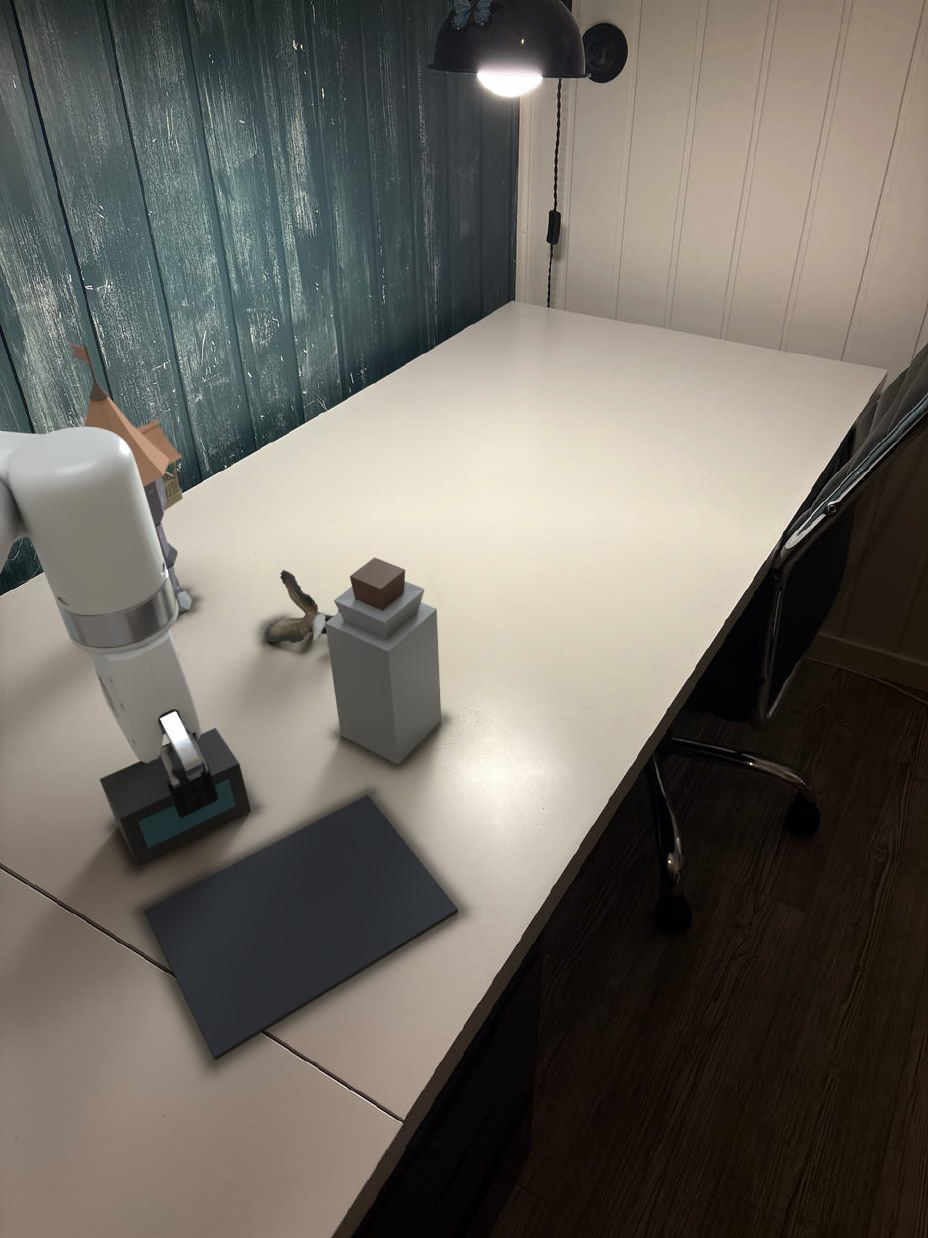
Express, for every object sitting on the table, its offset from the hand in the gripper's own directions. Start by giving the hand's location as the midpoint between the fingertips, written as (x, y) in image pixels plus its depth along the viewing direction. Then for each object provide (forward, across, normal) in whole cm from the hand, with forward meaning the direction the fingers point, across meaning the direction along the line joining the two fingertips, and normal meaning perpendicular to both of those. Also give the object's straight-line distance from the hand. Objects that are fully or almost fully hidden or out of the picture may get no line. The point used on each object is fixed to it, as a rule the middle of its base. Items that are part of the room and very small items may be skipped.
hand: (175, 769), depth 75 cm
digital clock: (+6, 0, 0) cm, 6 cm away
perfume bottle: (+7, +1, +19) cm, 21 cm away
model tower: (+6, -31, +8) cm, 33 cm away
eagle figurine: (+6, -16, +19) cm, 26 cm away
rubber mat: (+6, +14, +4) cm, 15 cm away
